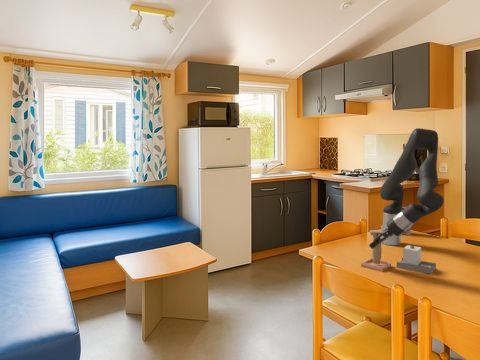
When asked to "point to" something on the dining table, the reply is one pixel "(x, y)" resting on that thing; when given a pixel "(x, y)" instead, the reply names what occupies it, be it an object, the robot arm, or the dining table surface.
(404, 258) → the cover
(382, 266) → the tray
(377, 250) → the handle
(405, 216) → the robot arm
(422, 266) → the blue-grey shallow bin
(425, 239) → the dining table surface
